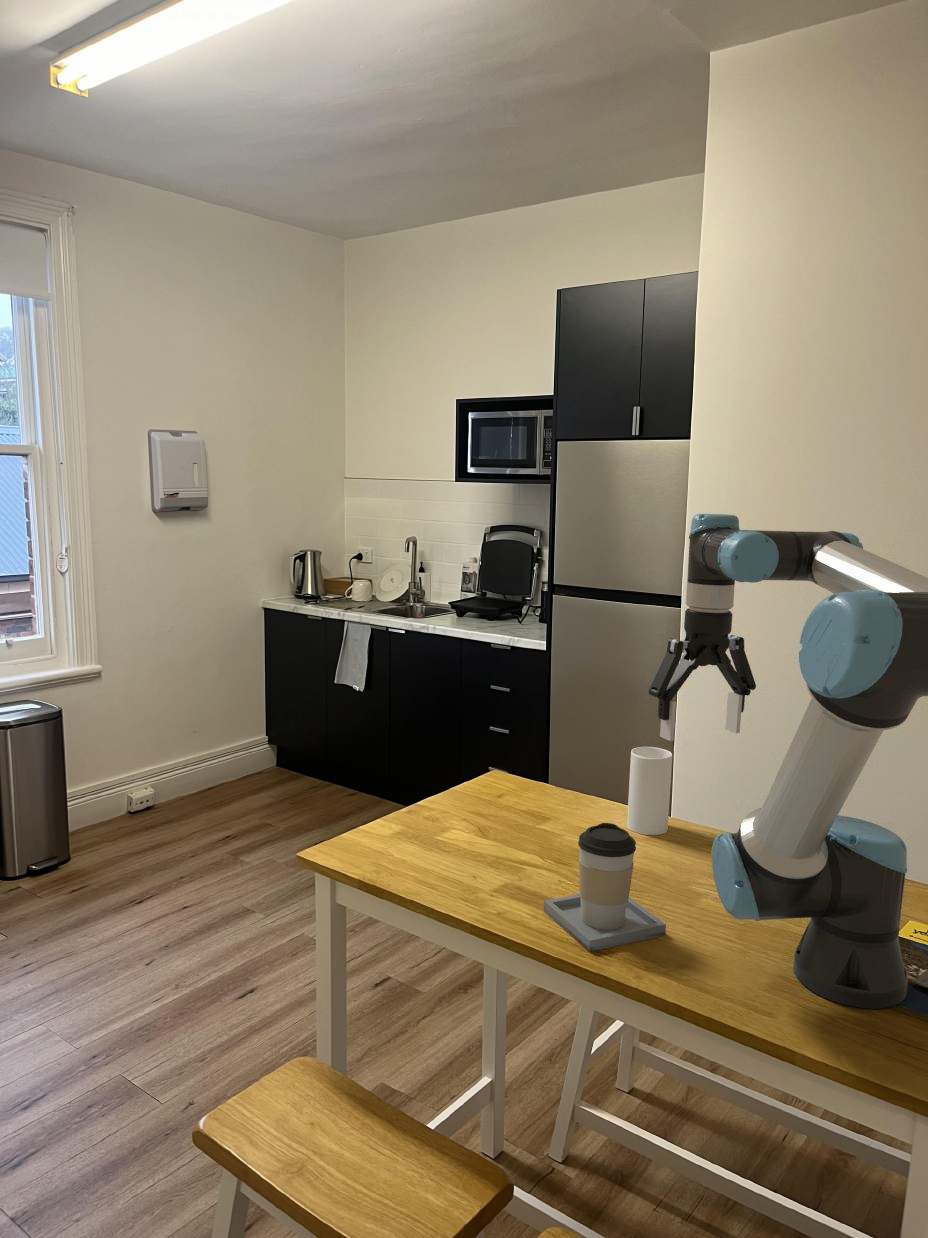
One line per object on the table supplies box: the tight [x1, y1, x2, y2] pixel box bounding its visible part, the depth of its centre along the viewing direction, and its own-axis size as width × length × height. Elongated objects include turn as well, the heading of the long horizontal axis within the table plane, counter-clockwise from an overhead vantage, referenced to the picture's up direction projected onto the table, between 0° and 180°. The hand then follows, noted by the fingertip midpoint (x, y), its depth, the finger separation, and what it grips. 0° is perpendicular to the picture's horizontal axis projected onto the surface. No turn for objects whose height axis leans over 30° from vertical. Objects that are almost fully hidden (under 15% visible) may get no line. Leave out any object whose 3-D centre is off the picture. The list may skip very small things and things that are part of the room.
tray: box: [543, 893, 667, 953], centre depth 146 cm, size 14×14×2 cm
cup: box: [626, 746, 673, 836], centre depth 186 cm, size 8×8×16 cm
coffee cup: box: [577, 822, 637, 930], centre depth 145 cm, size 9×9×15 cm
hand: (700, 735), depth 152 cm, fingers open, 13 cm apart
